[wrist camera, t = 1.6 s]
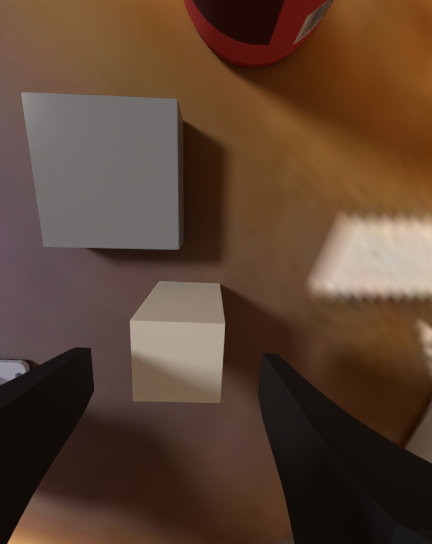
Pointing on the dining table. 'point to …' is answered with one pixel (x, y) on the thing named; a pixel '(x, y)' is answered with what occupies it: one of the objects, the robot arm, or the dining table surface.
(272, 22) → the canned food
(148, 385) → the cream block
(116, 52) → the dining table surface
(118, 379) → the dining table surface
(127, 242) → the grey square block
